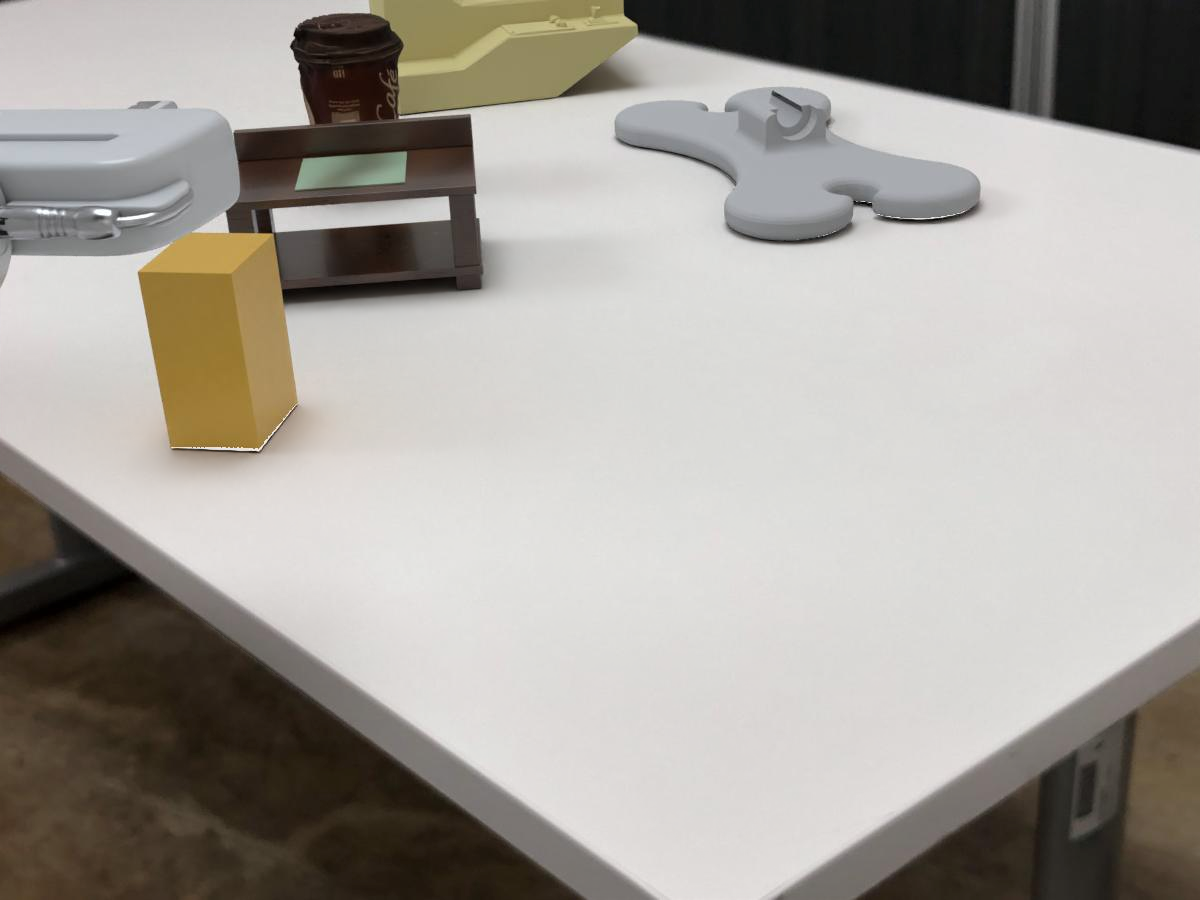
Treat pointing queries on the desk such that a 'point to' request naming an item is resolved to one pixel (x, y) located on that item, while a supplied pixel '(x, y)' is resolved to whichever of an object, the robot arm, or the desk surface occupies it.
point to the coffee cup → (348, 67)
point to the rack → (363, 198)
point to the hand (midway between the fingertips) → (58, 120)
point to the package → (219, 339)
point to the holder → (795, 163)
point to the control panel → (498, 48)
